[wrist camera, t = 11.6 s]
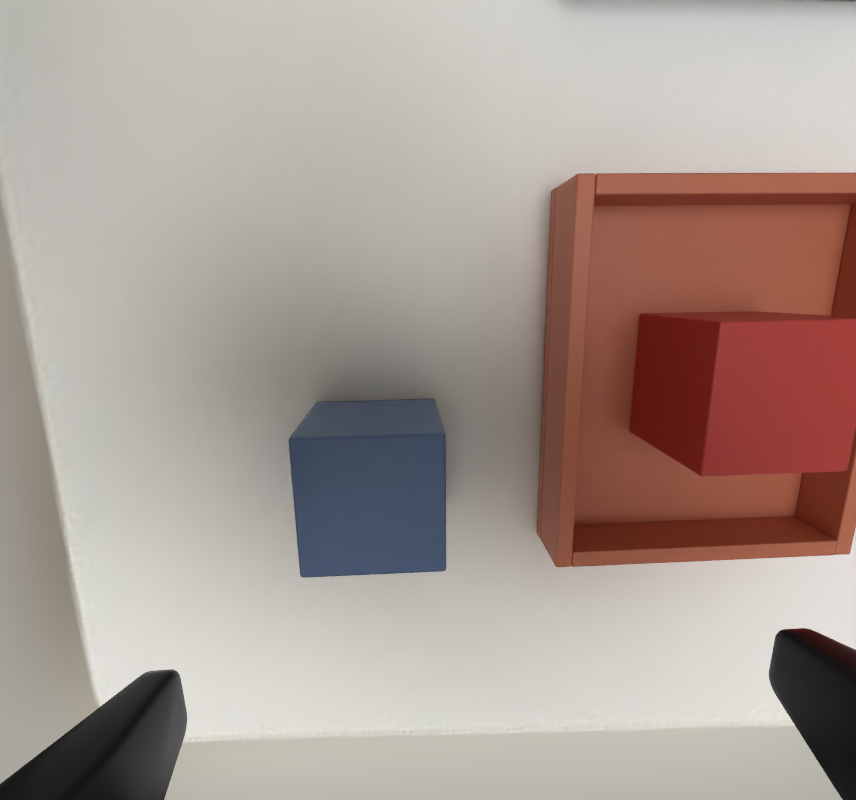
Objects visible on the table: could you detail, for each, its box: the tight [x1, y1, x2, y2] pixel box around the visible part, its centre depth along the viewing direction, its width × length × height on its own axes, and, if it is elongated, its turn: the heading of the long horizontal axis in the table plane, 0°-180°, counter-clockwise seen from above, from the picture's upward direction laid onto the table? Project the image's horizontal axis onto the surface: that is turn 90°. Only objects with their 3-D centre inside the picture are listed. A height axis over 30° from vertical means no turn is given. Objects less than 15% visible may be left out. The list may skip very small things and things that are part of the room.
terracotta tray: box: [537, 173, 856, 567], centre depth 17 cm, size 11×13×2 cm
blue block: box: [289, 399, 446, 577], centre depth 16 cm, size 4×4×4 cm
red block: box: [630, 311, 856, 476], centre depth 15 cm, size 4×4×4 cm
